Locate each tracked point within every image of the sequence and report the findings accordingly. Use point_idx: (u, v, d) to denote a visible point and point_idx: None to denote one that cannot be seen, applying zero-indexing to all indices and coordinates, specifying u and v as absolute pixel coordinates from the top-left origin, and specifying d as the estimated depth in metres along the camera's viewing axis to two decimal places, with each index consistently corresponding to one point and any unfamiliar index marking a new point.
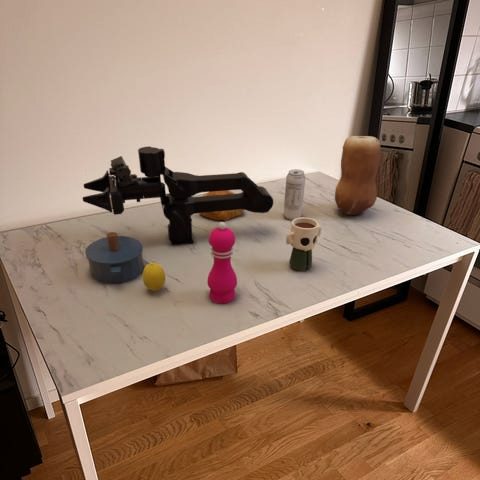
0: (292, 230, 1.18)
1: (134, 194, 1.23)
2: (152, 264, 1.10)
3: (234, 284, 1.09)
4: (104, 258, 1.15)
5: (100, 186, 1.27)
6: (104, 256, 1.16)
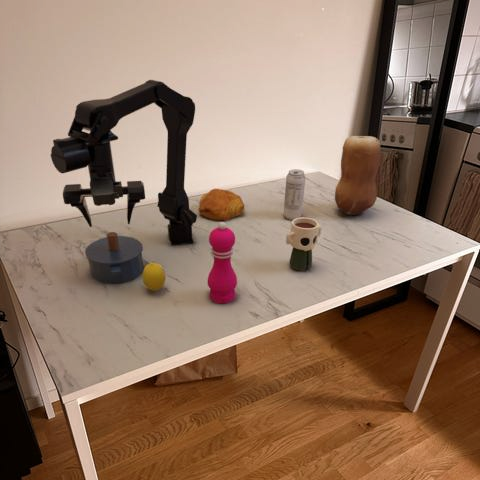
0: (292, 230, 1.18)
1: None
2: (152, 264, 1.10)
3: (234, 284, 1.09)
4: (104, 258, 1.15)
5: (87, 209, 1.12)
6: (104, 256, 1.16)
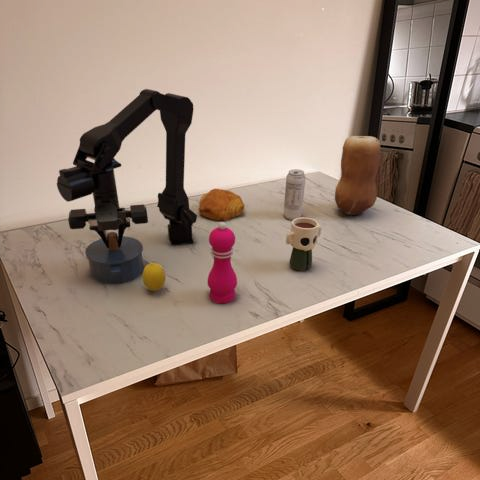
0: (292, 230, 1.18)
1: None
2: (152, 264, 1.10)
3: (234, 284, 1.09)
4: (104, 258, 1.15)
5: (104, 231, 1.16)
6: (104, 256, 1.16)
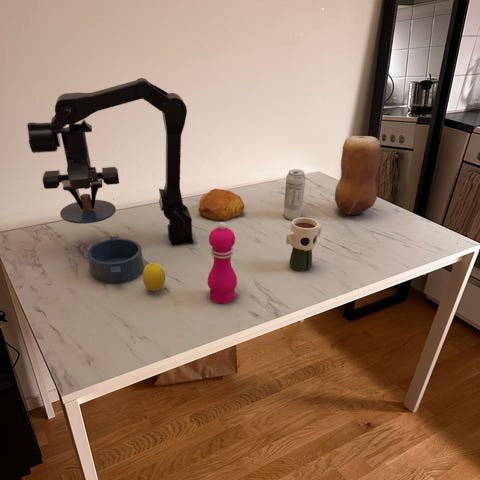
0: (292, 230, 1.18)
1: (89, 158, 1.18)
2: (152, 264, 1.10)
3: (234, 284, 1.09)
4: (78, 218, 1.21)
5: (78, 192, 1.22)
6: (78, 216, 1.22)
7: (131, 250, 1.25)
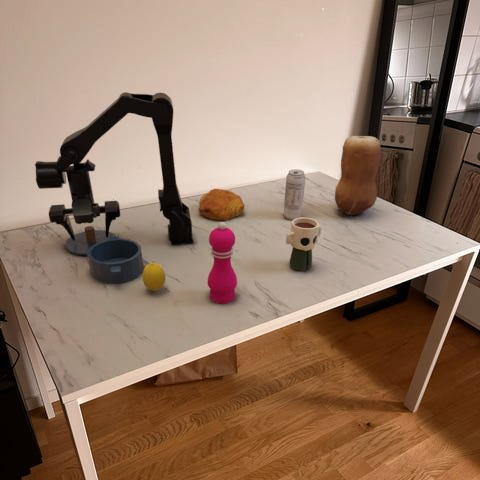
0: (292, 230, 1.18)
1: (92, 193, 1.25)
2: (152, 264, 1.10)
3: (234, 284, 1.09)
4: (82, 249, 1.29)
5: (70, 225, 1.29)
6: (82, 248, 1.30)
7: (131, 250, 1.25)
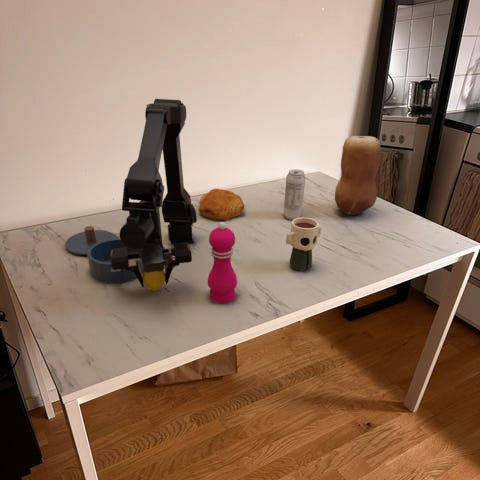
0: (292, 230, 1.18)
1: None
2: None
3: (234, 284, 1.09)
4: (82, 249, 1.29)
5: (140, 270, 1.11)
6: (82, 248, 1.30)
7: (131, 250, 1.25)
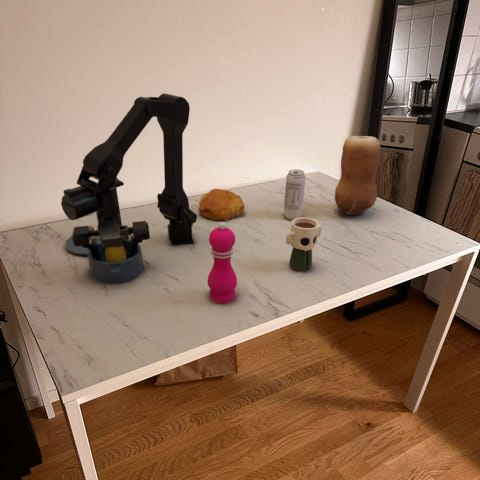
0: (292, 230, 1.18)
1: None
2: None
3: (234, 284, 1.09)
4: (82, 249, 1.29)
5: (97, 248, 1.18)
6: (82, 248, 1.30)
7: None
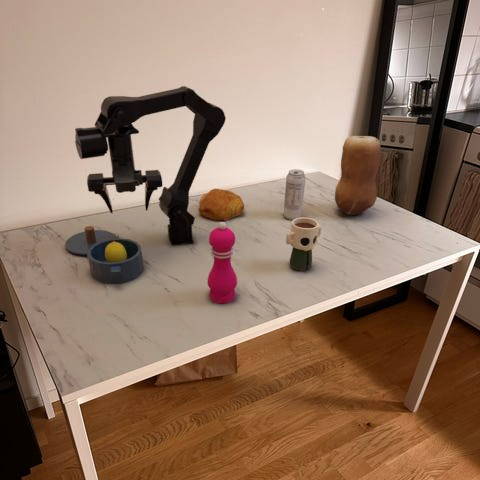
0: (292, 230, 1.18)
1: None
2: (113, 243, 1.18)
3: (234, 284, 1.09)
4: (82, 249, 1.29)
5: (108, 196, 1.21)
6: (82, 248, 1.30)
7: (131, 250, 1.25)
